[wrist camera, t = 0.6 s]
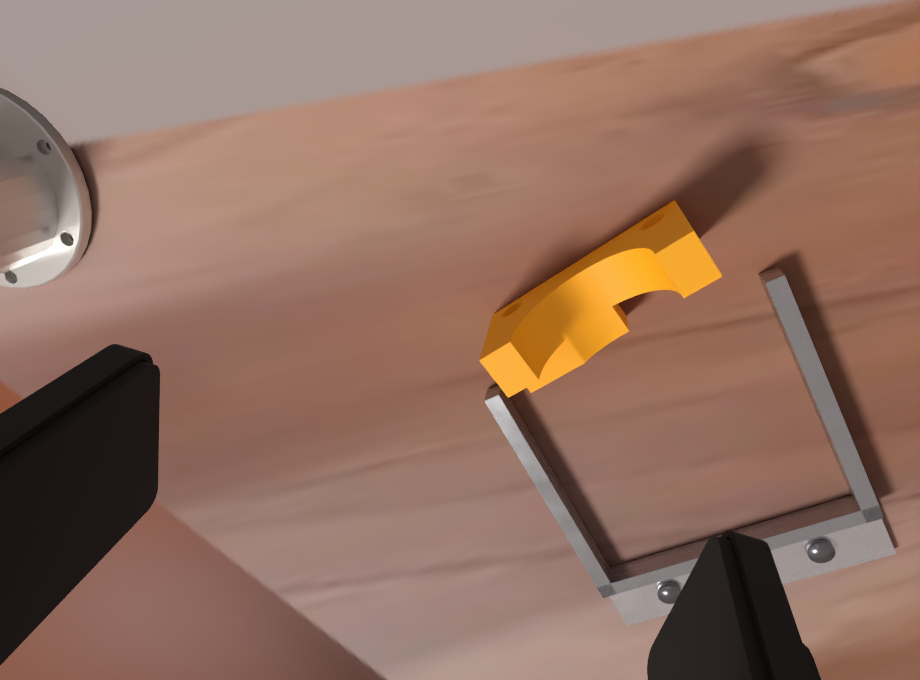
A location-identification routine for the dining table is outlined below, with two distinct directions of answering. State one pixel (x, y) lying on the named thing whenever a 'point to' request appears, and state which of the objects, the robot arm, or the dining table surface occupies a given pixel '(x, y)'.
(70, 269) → the robot arm
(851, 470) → the hinge bracket
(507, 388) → the pipe clamp
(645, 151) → the dining table surface
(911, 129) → the dining table surface
